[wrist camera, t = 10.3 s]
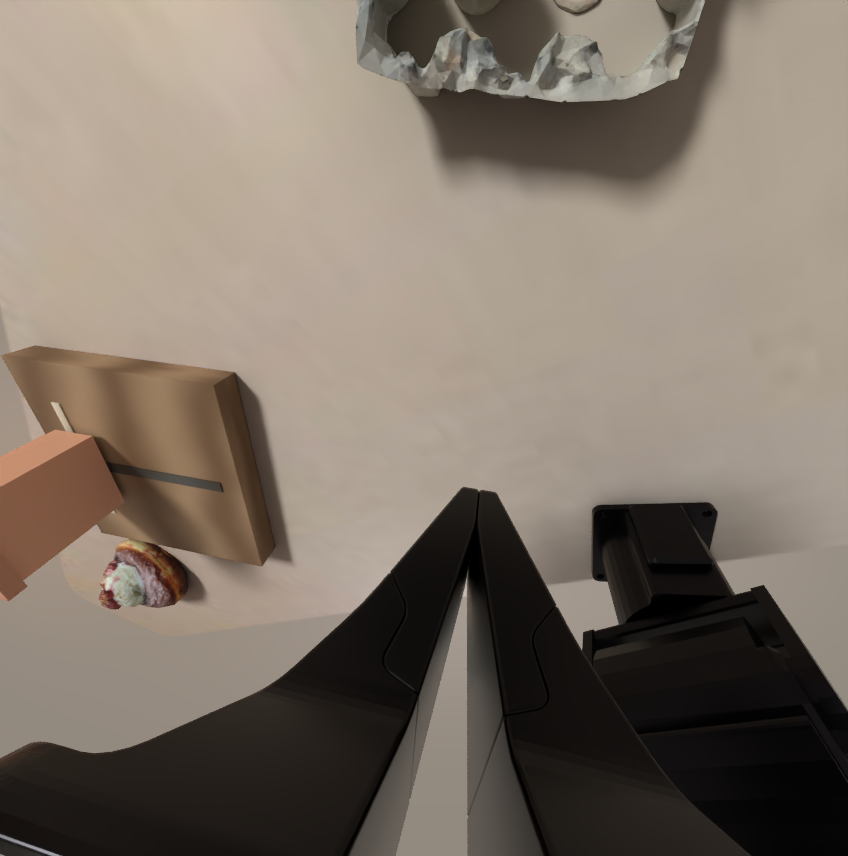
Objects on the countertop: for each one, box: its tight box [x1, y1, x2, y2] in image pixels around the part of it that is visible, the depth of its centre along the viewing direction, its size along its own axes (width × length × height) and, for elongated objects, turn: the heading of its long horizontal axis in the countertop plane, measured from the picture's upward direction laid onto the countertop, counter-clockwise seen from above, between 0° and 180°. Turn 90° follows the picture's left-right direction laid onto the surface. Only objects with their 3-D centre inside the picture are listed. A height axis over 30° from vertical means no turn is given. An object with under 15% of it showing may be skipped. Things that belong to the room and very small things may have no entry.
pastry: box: [99, 539, 188, 609], centre depth 35 cm, size 8×8×5 cm
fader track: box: [2, 346, 275, 566], centre depth 28 cm, size 15×16×2 cm
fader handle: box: [0, 430, 125, 601], centre depth 24 cm, size 4×7×8 cm, turn 177°
